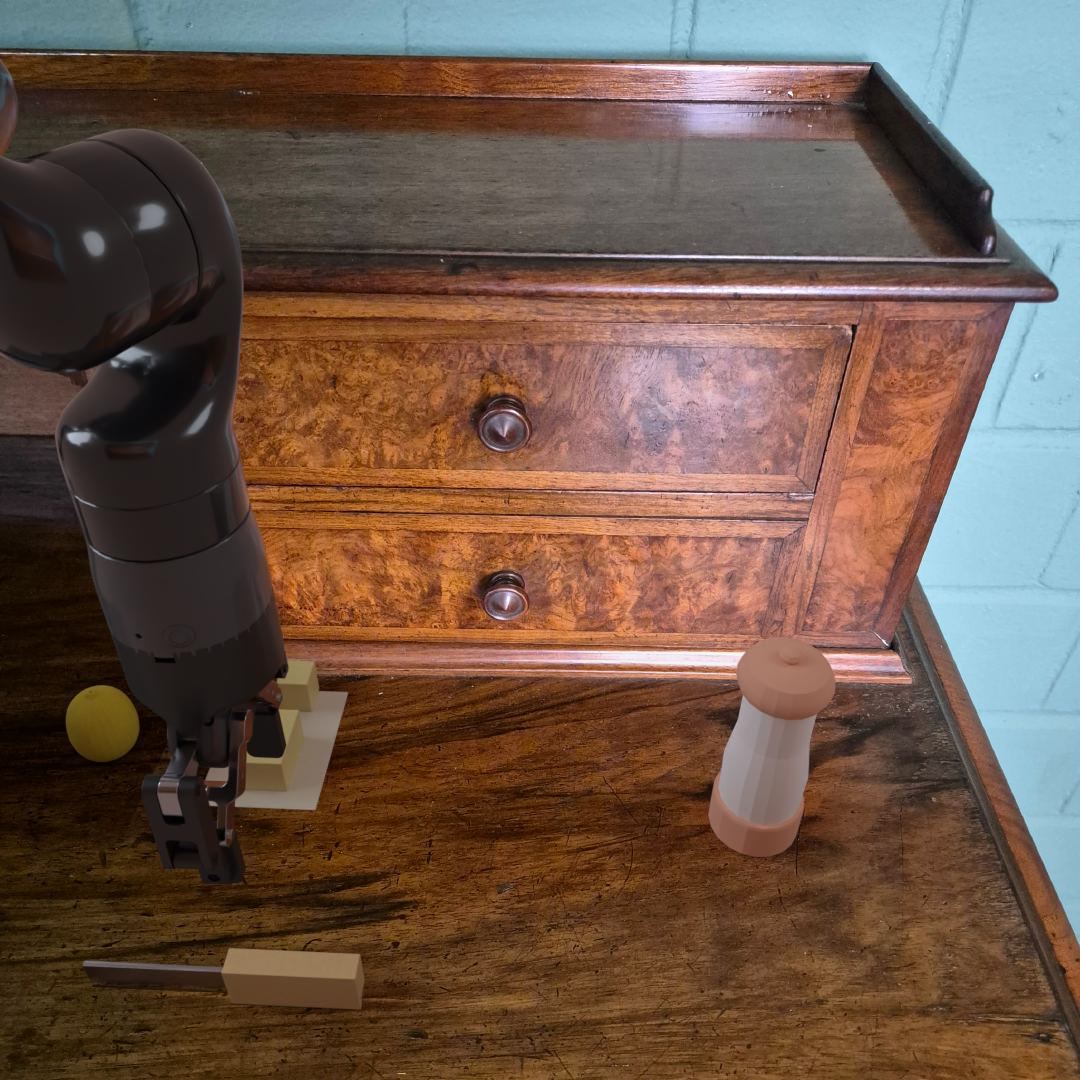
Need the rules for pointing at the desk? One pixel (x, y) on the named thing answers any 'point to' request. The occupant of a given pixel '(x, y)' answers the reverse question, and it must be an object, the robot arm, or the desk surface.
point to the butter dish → (300, 759)
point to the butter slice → (299, 686)
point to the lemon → (102, 723)
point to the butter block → (277, 770)
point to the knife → (253, 977)
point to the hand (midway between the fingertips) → (247, 811)
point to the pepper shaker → (770, 746)
